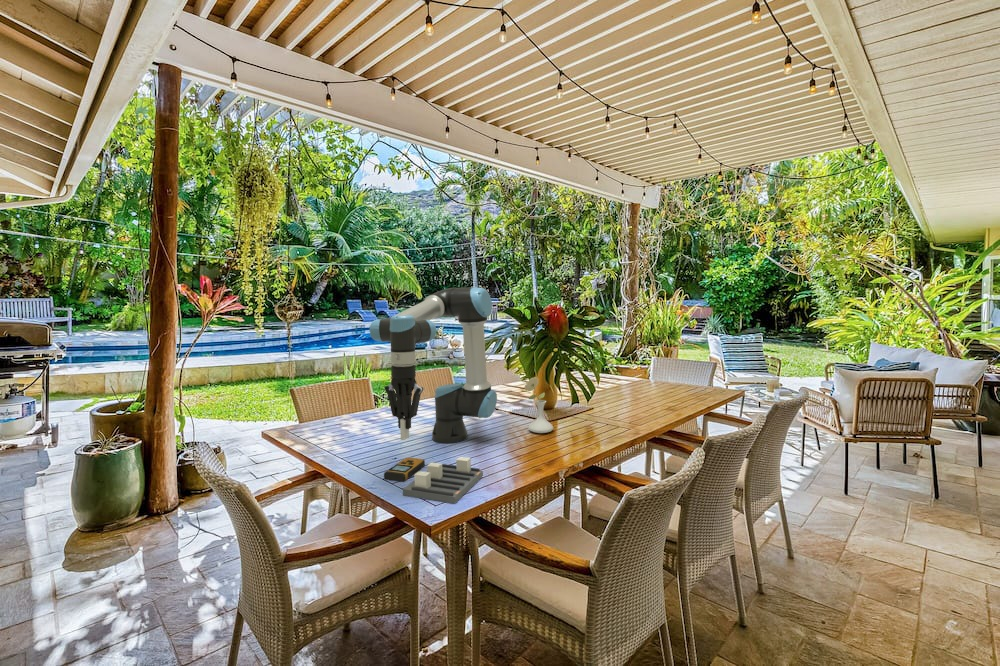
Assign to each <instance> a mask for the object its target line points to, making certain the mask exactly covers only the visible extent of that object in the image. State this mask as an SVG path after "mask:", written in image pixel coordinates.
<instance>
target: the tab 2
mask: <svg viewBox="0 0 1000 666" xmlns="http://www.w3.org/2000/svg"><path fill="white" fill-rule="evenodd" d="M442 464H443V463H437V462H430V463H428V465H426V472H430V473H431V478H436V479H441V478H442V477H443V474H442Z"/></svg>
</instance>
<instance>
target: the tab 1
mask: <svg viewBox="0 0 1000 666" xmlns="http://www.w3.org/2000/svg"><path fill="white" fill-rule="evenodd" d="M413 476H414V480H415V487H420V488H427V489H428V488H430V487H431V473H430V472H427V471H421V470H419V471H418V472H417V473H415V474H414V475H413Z"/></svg>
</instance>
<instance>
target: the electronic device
mask: <svg viewBox="0 0 1000 666" xmlns="http://www.w3.org/2000/svg"><path fill="white" fill-rule="evenodd" d="M425 461H426V460H425V459H423V458H415V457H405V458H403V459H401V461H399V462H397V463H396V464H394V465H393V466H391V467H390V468H389V469H388V470H386V471H384V473H383V477H384V478H383V479H384V480H385V481H394V482H400V483H402V482H403V483H404V482H406V481H407V480H408V479H411V477H414V476H415V475H414V474H416V473H417V472H419V471H421V470H422V469H423V468H424V467H425V466H426V464H425V463H426V462H425Z"/></svg>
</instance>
